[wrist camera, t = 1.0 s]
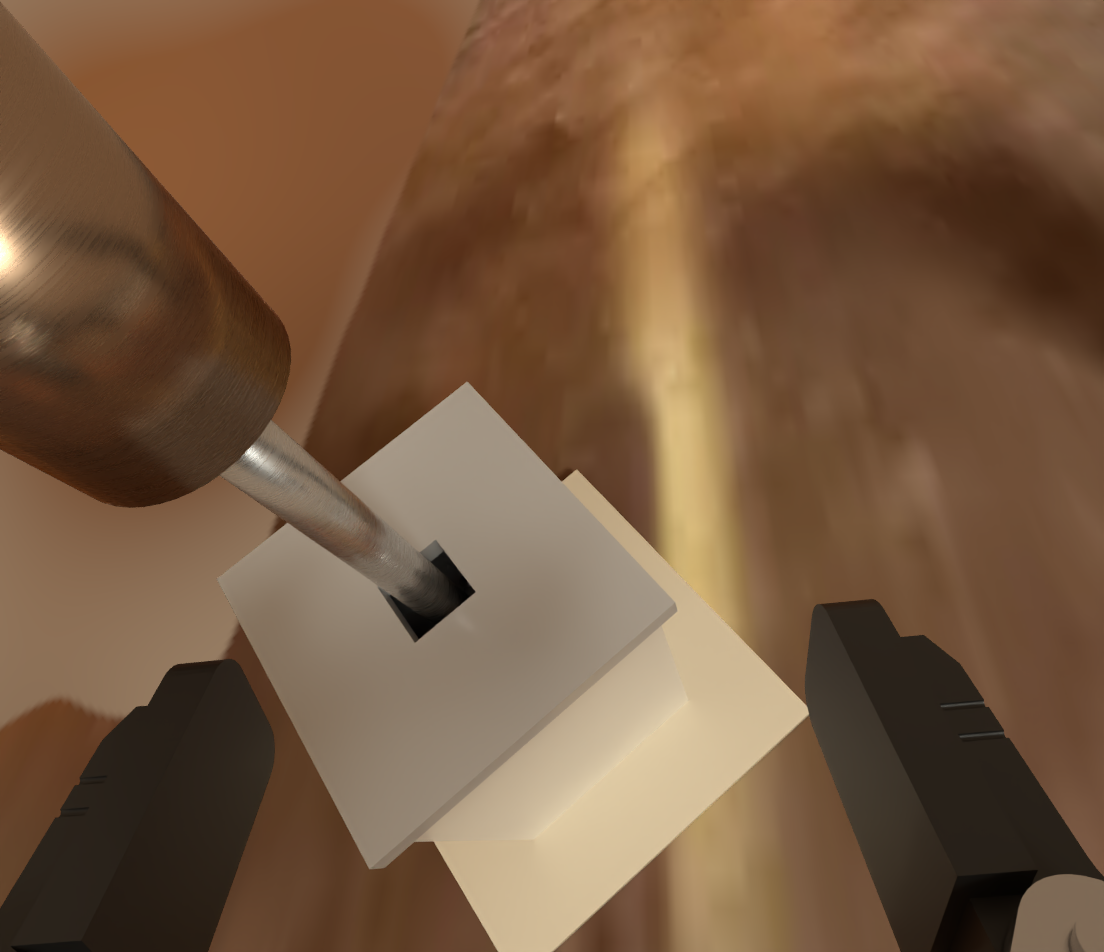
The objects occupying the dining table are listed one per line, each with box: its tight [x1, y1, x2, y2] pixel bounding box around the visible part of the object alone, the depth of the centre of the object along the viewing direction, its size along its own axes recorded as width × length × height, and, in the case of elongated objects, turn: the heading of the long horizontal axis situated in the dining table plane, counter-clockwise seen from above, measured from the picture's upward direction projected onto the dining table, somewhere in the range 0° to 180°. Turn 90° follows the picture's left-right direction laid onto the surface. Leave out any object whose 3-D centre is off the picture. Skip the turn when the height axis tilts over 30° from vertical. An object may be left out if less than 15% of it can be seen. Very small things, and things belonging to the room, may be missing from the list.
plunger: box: [0, 2, 475, 639], centre depth 19 cm, size 9×9×24 cm
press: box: [217, 382, 809, 952], centre depth 33 cm, size 20×20×20 cm
